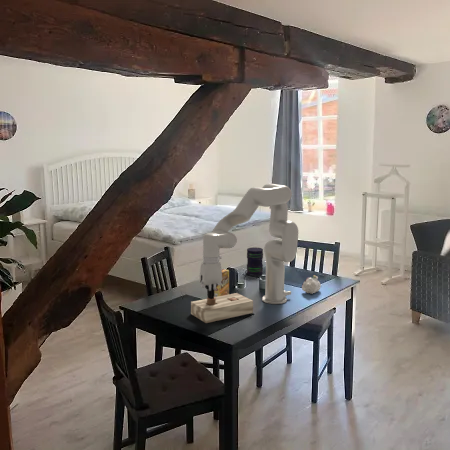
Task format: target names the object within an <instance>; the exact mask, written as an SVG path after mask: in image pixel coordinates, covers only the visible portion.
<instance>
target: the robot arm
mask: <svg viewBox="0 0 450 450" xmlns="http://www.w3.org/2000/svg"><path fill="white" fill-rule="evenodd" d="M292 194H293V193H292V190H291V188H290V187H289V186H287V185H283V184H276V183H266V184H264V185H263V186H262V187H254V186H253V187H250V188H249V189H248V190H247V191H246V193H245V194H244V195H243V196H242V198H241V200H240V201H239V203H238V204H237V205H236V207H235V209H233V211H231V212H229V213H228V214H227V215H225V216H224V217H223V218H221V219H220V220H219V221H218V222H217V224H216V225H215V226H214V227H213V229H212V231H211V232H207V233H205V234H203V237H202V248H203V249H202V255H203V256H202V262H201V263H200V269H199V275H198V277H199V278H198V281H199V283H200V287H201V288H204V289H206V291H207V293H206V294H207V296H206V297H208V298H210V299H214V295H215V290H216V287H217V286H218V285H220V284H221V281H222V263H221V261H220V260H221V259H222V256H221V255H220V249H232V248H234V247H235V246H236V245H237V242H238V241H237V240H238V238H237V236H236V235H235V234H234V233H232V232H229V231H230V230H231V229H232V228H234V227H235V226H238V225H242V224H244V223H247V222H249V221H250V219H251V218H252V217H253V215H254V214H255V212H256V211H257V210H258V208H259V207H265V208H266V207H267V208H268V207H270V217H269V226H268V228H269V229H268V232H269V234H270V235H271V236H272V237H274V238H277V239H269V240H267V241H266V243H265V244H264V248H263V254H264V258H265V286H264V287H265V288H264V289H265V290H264V291H265V295H263V296H262V297H261V299H262V302H264V303H266V304H270V305H271V304H272V305H280V304H281V305H282V304H286V302H287V301H288V298H287V296H290V295H292V291H290V290H289V291H287V290H285V273H286V272H285V267H286V266H285V263H291V262H292V261H294V260H295V258H296V256H297V251H298V250H297V249H298V241H299V227H298V225H297V224H296V223H295V222H294V221H292V220H288V215H289V214H288V212H289V210H288V204H287V203H288V202H289V201H290V200H291V199H292V196H293V195H292ZM280 239H281V240H280Z"/></svg>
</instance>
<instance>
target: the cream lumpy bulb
mask: <svg viewBox="0 0 450 450" xmlns="http://www.w3.org/2000/svg"><path fill="white" fill-rule="evenodd" d="M318 279H319V277H318V276H316V275H315V274H314V275H313V276H312V277H306V279H305V280H304V281H303V283H302V285H301V290H302V291H303V292H305V293H306V294H309V293H310V295H314V294H315V293H317V292H319V291H320V290H321V286H322V285H321V282H320V281H319V280H318ZM313 293H314V294H313Z"/></svg>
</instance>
